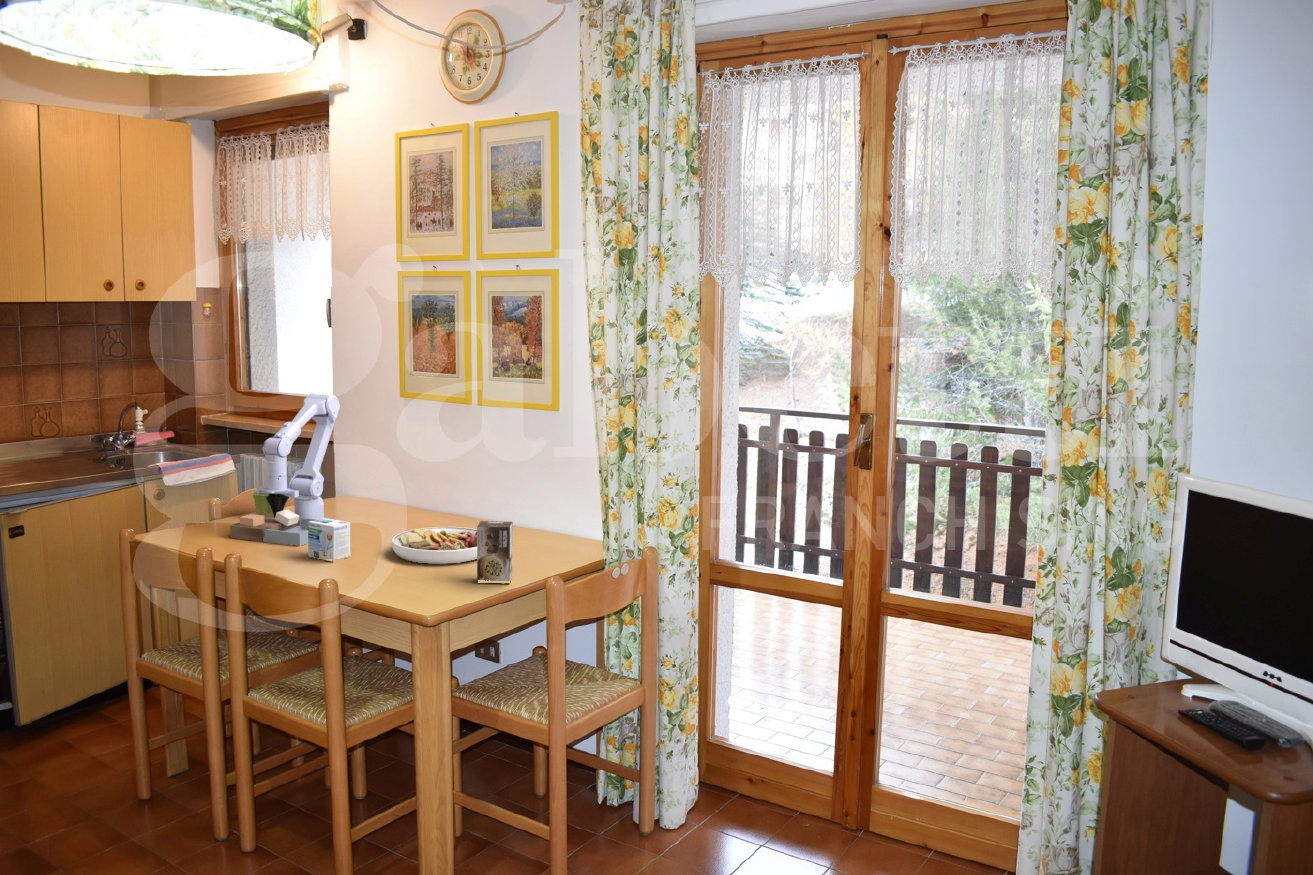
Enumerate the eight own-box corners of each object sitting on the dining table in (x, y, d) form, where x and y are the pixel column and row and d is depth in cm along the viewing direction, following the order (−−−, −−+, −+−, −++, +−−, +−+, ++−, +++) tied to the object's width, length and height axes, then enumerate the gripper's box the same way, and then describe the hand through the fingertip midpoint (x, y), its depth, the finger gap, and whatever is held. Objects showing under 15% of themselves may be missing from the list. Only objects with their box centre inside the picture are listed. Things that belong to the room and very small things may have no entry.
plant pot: (253, 514, 326) (253, 489, 324) (282, 513, 328) (282, 489, 327) (250, 520, 317) (250, 495, 316) (280, 519, 320) (280, 494, 318)
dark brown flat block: (269, 525, 311) (269, 513, 310) (300, 529, 307) (300, 517, 307) (230, 537, 293) (229, 525, 293) (262, 541, 290) (262, 529, 290)
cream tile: (285, 516, 303) (287, 509, 303) (297, 522, 302) (299, 515, 302) (274, 519, 299) (276, 512, 298) (287, 526, 298) (289, 519, 297)
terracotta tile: (251, 521, 298) (250, 513, 298) (264, 523, 297) (264, 515, 297) (239, 525, 294) (239, 517, 293) (253, 526, 292) (253, 518, 292)
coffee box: (512, 578, 262) (513, 521, 259) (509, 584, 255) (510, 526, 253) (479, 577, 261) (480, 520, 259) (476, 584, 255) (476, 525, 253)
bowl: (391, 569, 267) (391, 542, 265) (391, 543, 295) (391, 518, 294) (498, 565, 275) (498, 539, 273) (488, 540, 303) (489, 516, 302)
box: (301, 529, 307) (301, 517, 307) (336, 533, 303) (336, 521, 303) (263, 541, 290) (263, 529, 289) (299, 546, 286) (299, 533, 286)
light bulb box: (307, 557, 275) (306, 521, 273) (325, 552, 281) (324, 517, 279) (334, 563, 270) (333, 526, 268) (351, 558, 276) (351, 522, 274)
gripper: (249, 475, 298) (250, 517, 300) (288, 479, 294) (288, 522, 295) (264, 472, 304) (265, 513, 306) (302, 475, 300) (303, 517, 302)
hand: (277, 517), depth 301 cm, fingers closed
